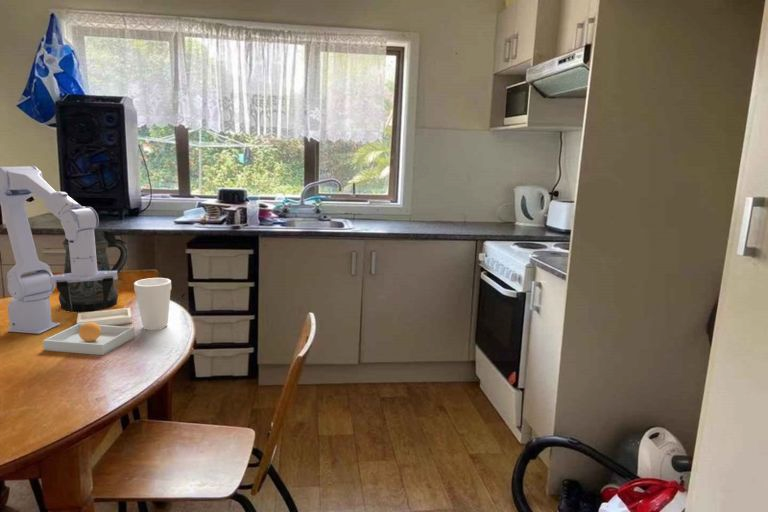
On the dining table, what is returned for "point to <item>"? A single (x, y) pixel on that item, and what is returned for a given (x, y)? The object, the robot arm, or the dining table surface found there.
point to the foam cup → (153, 301)
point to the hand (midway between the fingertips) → (87, 308)
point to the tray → (100, 346)
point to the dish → (106, 317)
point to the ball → (89, 331)
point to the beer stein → (91, 292)
